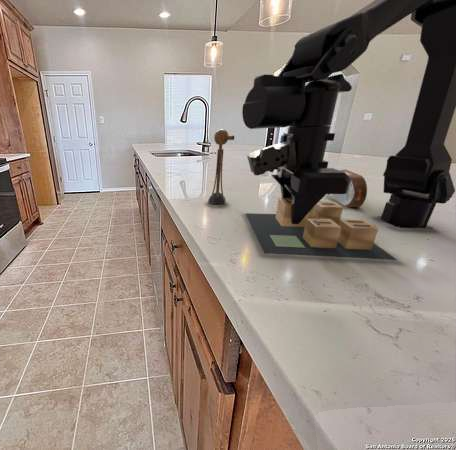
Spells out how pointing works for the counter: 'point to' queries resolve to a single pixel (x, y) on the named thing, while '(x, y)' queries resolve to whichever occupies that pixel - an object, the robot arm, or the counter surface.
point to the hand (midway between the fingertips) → (290, 219)
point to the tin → (353, 191)
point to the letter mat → (301, 241)
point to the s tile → (287, 213)
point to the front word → (340, 233)
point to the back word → (326, 211)
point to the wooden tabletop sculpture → (219, 167)
